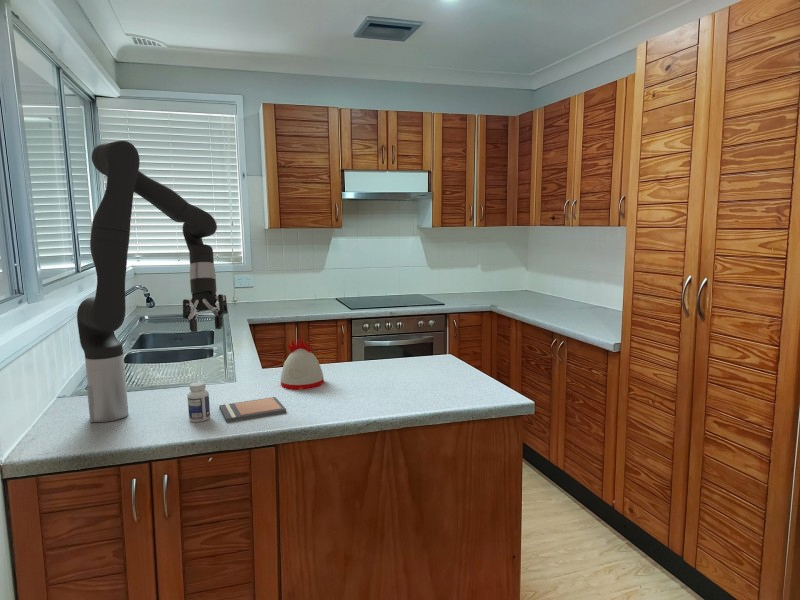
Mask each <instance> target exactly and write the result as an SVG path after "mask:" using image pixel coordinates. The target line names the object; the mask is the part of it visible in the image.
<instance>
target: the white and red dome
mask: <svg viewBox="0 0 800 600" xmlns="http://www.w3.org/2000/svg"><path fill="white" fill-rule="evenodd" d="M287 346H288V350H290V353H289V355H288V357H287V358H286V359H285V360H284V361H283V367H282V370H281V373H280V374H281V375H280V387H281V386H282V388H283V389H285V388H286V389H285V390H290V389H292V390H293V391H302V390H310V389H311V390H312V389H315V388H319V387H321V386H323V385H324V383H325V381H324V373H323V370H322V367H321V364H320V362H319V360H318V358H317V357H316V356H315V354H314V353H312V350H313V346H314V345H311V347H310V348H309V341H307V342H306V344H305V341H304V338H302V339H301V343H300V339H299V338H298V339H297V341H296V344H295V341H294V339H291V344H289V343H288V342H287Z"/></svg>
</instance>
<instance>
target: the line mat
mask: <svg viewBox="0 0 800 600" xmlns="http://www.w3.org/2000/svg"><path fill="white" fill-rule="evenodd" d="M218 405H219V407H218V408H219V411H220V412H221V415H222V416H223V418H224V421H225V422H226V423H231V422H238V421H242V420H243V421H244V420H249V419H250V420H251V419H256V418H261V417H268V416H274V415H275V416H276V415H281V414H287V408H286V407H285V406H284V405H283V404H282V403H281V401H280V400H279V399H278V398H277V397H276V396H272V397H265V398H258V399H251V400H245V401H239V402H234V403H233V402H232V403H225V404H224V403H223V404H218Z"/></svg>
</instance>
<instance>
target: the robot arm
mask: <svg viewBox="0 0 800 600" xmlns="http://www.w3.org/2000/svg"><path fill="white" fill-rule="evenodd" d="M140 159H141V158H140V155H139V151H138V149H137V147H136V146H135V145H134V144H133V143H131V142H130V141H128V140H124V139H123V140H121V139H120V140H112V141H107V142H103V143H100V144H98V145H97V146H95V147H94V149H92V153H91V162H92V164H93V166H94V168H95V169H96V170H97V171H98V172H99V173H100V174H102V175H103V176H105V177H107V178H106V187H105V191H104V195H103V197H102V198H101V201H100V203H99V206H98V208H97V209H96V211H95V213H94V216H93V219H92V222H91V228H90V229H91V231H90V240H89V244H90V245H89V246H90V247H89V248H90V254H91V258H92V261H93V264H94V268H95V272H96V273H95V274H96V289H95V295H94V296H90V297H87V298H85V299H84V300H83V301H81V302H80V304H79V305H78V308H77V310H76V311H77V312H76V322H77V328H78V329H77V330H78V335H79V342H80V347H81V348H82V350H83V353H84V361H85V370H86V371H85V372H86V382H87V383H86V384H87V388H86V392H87V402H88V413H89V422H90V423H106V422H107V423H108V422H115V421H117V420H120V419H123V418H126V417H127V416H129V405H128V404H129V403H128V392H127V381H126V369H125V360H124V347H123V343H121V341H120V340H119V339H117V337H116V334H115V331H116V332H117V330H118V329H119V328H121V326H122V325H123V323H124V322H125V318H126V311H127V310H126V275H127V265H128V264H127V263H128V253H129V244H130V235H131V222H132V221H131V220H132V212H133V211H132V210H133V201H134V194H136V195H138V196H140V197H141V198H142V199H144V200H146V201H147V202H149V203H150V204H151V205H152V206H154V207H156V209H158V210H159V211H160V212H162V213H163V215H165V216H167V217H168V218H169V219H171V220H172V221H173V222H175V223H183V224H182V235H183V238H184V241H185V244H186V246H187V250H188V252H189V254H188V255H189V283H190V285H189V287H190V293H191V297H192V298H191V299H185V298H184V299H183V300H182V318H183V319H186V320H188V321H189V322H188V323H189V325H188V326H189V331H190V332H191V333H197V332H198V323H197V322H198V320H197V318H198V316H199V315H200V314H201V312H206V311H208V312H209V311H210V312H211V313H212V314H213V315H214V329H215V330H222V328H223V316H224V315H227V314H228V312H229V311H228V303H227V302H228V301H227V296H226V295H225V294H223V293H221V294H218V295H217V279H216V277H217V276H216V268H215V262H214V261H215V260H214V259H215V258H214V250H213V249H214V248H213V247H212V246H211V245H209V244H204V242H203V238H206V237H210V236H212V235H213V236H214V234H215V233H216V232H217V229H218V225H217V222H216V220H215V218H214V217H213V216H212V215H211V213H209V212H207V211H205V210H203V209H202V208H200V207H197V206H196V205H194V204H191V203H189V202H188V201H187V200H186V199H184V197H182V196H181V195H179V194H178V193H177V192H176V191H175V190H173V189H172V188H170V187H168V186H167V185H165V184H163V183H161V182H159V181H157V180H155V179H153V178H151V177H150V176H149V175H148V176H147V175H146V174H145V173H143V172H142V171H140V170H139V169H140ZM217 302H218V305H217Z"/></svg>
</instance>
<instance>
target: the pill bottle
mask: <svg viewBox="0 0 800 600" xmlns="http://www.w3.org/2000/svg"><path fill="white" fill-rule="evenodd" d="M187 406H188V408H187V409H188V420H189V421H190V422H193V423H200V422H205V421H207V420H209V419H210V418H211V408H210V407H211V405H210V395H209V391H208V390H206V383H205V381H198V382H197V381H196V382H192V383H190V384H189V392H188V394H187Z"/></svg>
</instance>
